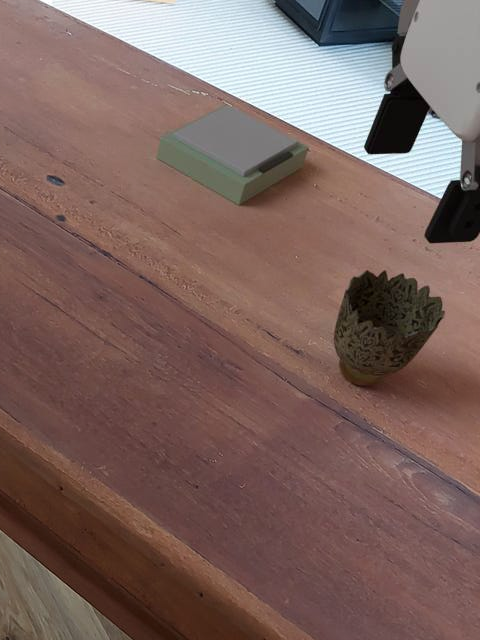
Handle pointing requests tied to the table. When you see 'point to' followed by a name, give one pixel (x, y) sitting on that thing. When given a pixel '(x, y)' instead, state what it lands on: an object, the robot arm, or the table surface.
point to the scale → (232, 153)
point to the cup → (383, 325)
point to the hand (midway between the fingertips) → (415, 193)
